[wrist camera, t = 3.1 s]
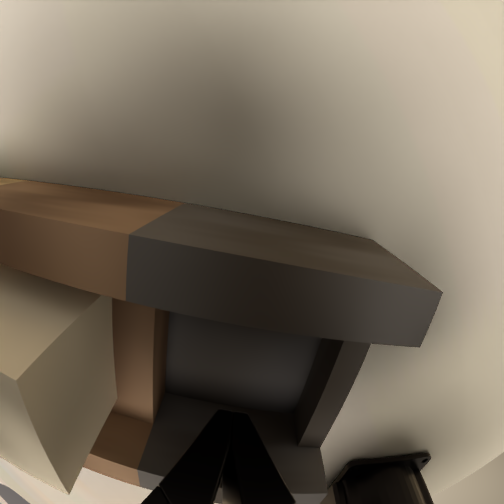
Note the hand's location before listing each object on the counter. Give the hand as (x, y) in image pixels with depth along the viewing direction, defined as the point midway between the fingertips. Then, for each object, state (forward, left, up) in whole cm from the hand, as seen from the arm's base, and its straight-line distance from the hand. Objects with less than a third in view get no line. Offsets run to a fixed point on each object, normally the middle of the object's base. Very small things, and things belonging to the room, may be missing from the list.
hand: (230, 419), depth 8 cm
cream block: (+7, 0, -2) cm, 7 cm away
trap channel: (+7, 0, -4) cm, 9 cm away
